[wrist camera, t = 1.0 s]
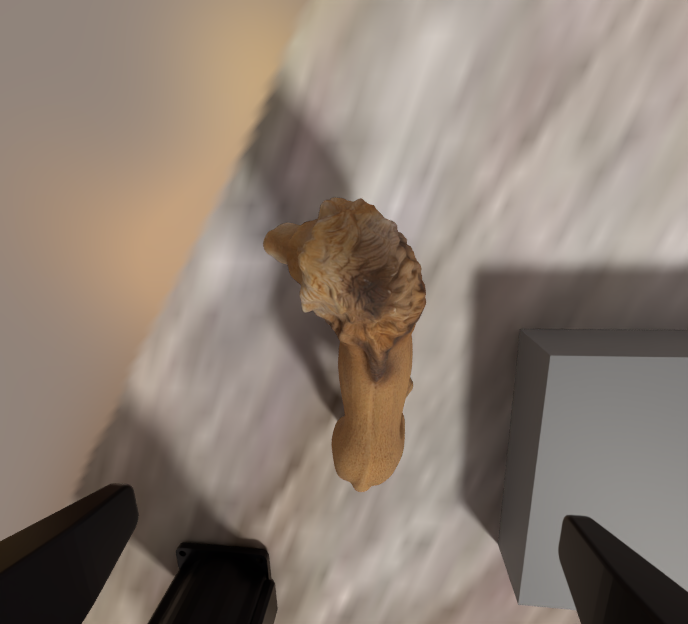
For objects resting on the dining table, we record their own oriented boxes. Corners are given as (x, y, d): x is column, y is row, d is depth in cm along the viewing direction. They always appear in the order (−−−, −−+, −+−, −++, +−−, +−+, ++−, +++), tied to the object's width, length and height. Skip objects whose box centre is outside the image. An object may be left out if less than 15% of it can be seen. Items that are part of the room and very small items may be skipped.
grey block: (496, 538, 23) (518, 604, 19) (517, 326, 19) (550, 355, 15) (707, 553, 21) (778, 628, 17) (775, 327, 17) (884, 360, 14)
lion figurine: (301, 211, 18) (224, 209, 10) (406, 193, 17) (424, 173, 9) (346, 458, 22) (319, 617, 13) (435, 452, 21) (469, 619, 12)
